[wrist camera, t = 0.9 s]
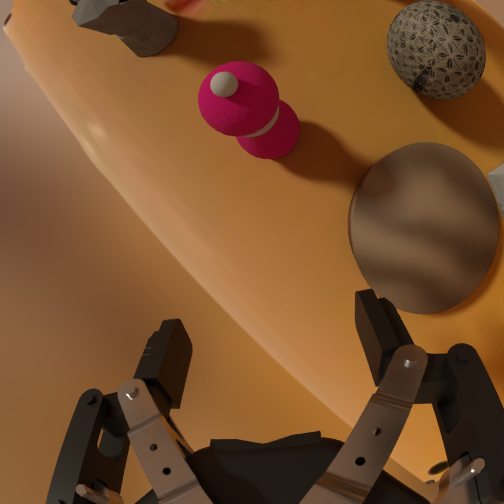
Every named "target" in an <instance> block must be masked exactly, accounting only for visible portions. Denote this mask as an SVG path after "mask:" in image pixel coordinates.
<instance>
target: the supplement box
mask: <svg viewBox="0 0 504 504" xmlns="http://www.w3.org/2000/svg"><path fill="white" fill-rule="evenodd" d="M487 176H488V178H489V181H490V183H491V186H492V189H493V191H494V194H495V196H496V199H497V202H498V205H499V208H500V211H501V213H502V216H503V219H504V163H503V164H502V165H500V166H499V167H497V168H496V169H494V170H493V171H491V172H490V173H488V174H487Z"/></svg>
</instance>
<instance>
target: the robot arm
mask: <svg viewBox="0 0 504 504" xmlns="http://www.w3.org/2000/svg"><path fill="white" fill-rule="evenodd" d="M355 324H356V329H357V332H358V335H359V338H360V340H361V343H362V346H363V349H364V352H365V355H366V358H367V361H368V364H369V367H370V370H371V373H372V377H373V380H374V383H375V386H376V387H377V386H379V387H378V389H377V391H376V393H375V394H373V395H372V396H371V398H370V400H369V402H368V404H367V405H366V407H365V409H364V411H363V413H362V415H361V416H360V418H359V420H358V422H357V423H356V425H355V427H354V428H353V430H352V432H351V434H350V435H349V437H348V438H347V440H346V442H342V441H340V440H336V439H332V438H325V437H321V433H320V431H316V432H310V433H303V434H295V435H291V436H288V437H285V438H281V439H278V440H275V441H272V442H269V443H264V444H261V443H255V442H249V441H244V440H238V439H211V442H210V446H209V447H206V448H202V449H200V450H198V451H196V452H194V451H193V449H192V448H191V447H190V446H189V444H188V443H187V442H186V440H185V438H184V437H183V435H182V433H181V432H180V430H179V429H178V427H177V425H176V424H175V422H174V421H173V419H172V417H171V416H170V414H169V413H170V409H179V408H180V404H181V400H182V395H183V391H184V386H185V382H186V378H187V374H188V369H189V365H190V361H191V356H192V343H191V340H190V338H189V336H188V334H187V332H186V330H185V328H184V326H183V324H182V322H181V320H180V319H168V320H164V321H163V322H162V324H161V326H160V329H159V331H155V332H154V333H153V335H152V336H151V337H150V338H149V339H148V342H147V344H146V347H145V348H146V349H144V352H143V356H142V357H141V359H140V362H139V365H138V367H137V370H136V372H135V375H134V378H133V379H131V380H128V381H126V382H125V383H124V384H123V385H121V387H120V388H119V390H118V392H115V393H111V394H107V395H103V394H102V392H101V391H100V390H98V389H89V390H87V391H86V392H84V393H83V394H82V395H81V397H80V399H79V401H78V404H77V406H76V409H75V412H74V414H73V417H72V419H71V422H70V425H69V428H68V430H67V433H66V436H65V439H64V442H63V445H62V448H61V451H60V454H59V457H58V460H57V464H56V467H55V471H54V474H53V477H52V481H51V484H50V488H49V492H48V496H47V500H46V504H124V501H123V499H122V497H121V496H120V491H121V486H122V480H123V475H124V470H125V465H126V460H127V455H128V451H129V446H130V442H131V444H132V446H133V448H134V451H135V453H136V455H137V458H138V460H139V462H140V464H141V466H142V468H143V470H144V472H145V474H146V476H147V478H148V480H149V482H150V484H151V486H152V488H153V489H152V490H150V491H149V492H148V493H147V494H146V495H145V496H143V497H142V498H141V499H140V500H139V501H137V502H136V503H135V504H431V503H430V502H429V501H428V500H427V499H426V498H424V497H423V496H421V495H420V494H418V493H417V492H415V491H413V490H412V489H410V488H409V487H407V486H406V485H404V484H403V483H401V482H400V481H399V480H397V479H396V478H394V477H393V476H391V475H390V474H388V473H387V472H386V471H384V470H383V467H384V466H385V464H386V462H387V460H388V458H389V456H390V454H391V452H392V450H393V448H394V446H395V444H396V442H397V440H398V438H399V436H400V434H401V431H402V429H403V427H404V425H405V422H406V420H407V418H408V415H409V413H410V411H411V408H412V405H413V404H428V403H432V406H433V409H434V412H435V415H436V419H437V422H438V425H439V429H440V432H441V436H442V440H443V443H444V447H445V451H446V455H447V459H448V464H449V468H448V469H447V470H446V471H445V472H444V473H443V475H442V476H441V478H440V481H439V493H438V496H437V498H436V499H435V501H434V502H433V503H432V504H503V503H504V408H503V406H502V403H501V401H500V399H499V396H498V394H497V392H496V390H495V387H494V385H493V383H492V381H491V379H490V377H489V375H488V373H487V371H486V369H485V367H484V365H483V363H482V361H481V359H480V357H479V355H478V353H477V351H476V350H475V349H474V348H473V347H472V346H470V345H468V344H464V343H460V344H456V345H454V346H452V347H451V348H450V349H449V351H448V353H445V354H430V353H426V352H425V350H424V349H422V348H421V347H419V346H417V345H415V344H414V342H413V340H412V338H411V337H410V335H409V333H408V331H407V329H406V327H405V325H404V323H403V321H402V320H401V317H400V316H399V314H398V313H397V310H396V308H395V306H394V305H393V303H392V302H390V301H389V300H388V299H386V298H385V297H383V298H379V299H378V298H377V296H376V295H375V293H374V291H373V289H372V288H371V289H366V290H361V291H356V292H355ZM101 429H102V430H103V434H102V438H101V441H100V445H99V448H98V447H97V442H98V439H99V435H100V432H101Z"/></svg>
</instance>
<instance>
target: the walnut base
mask: <svg viewBox="0 0 504 504" xmlns="http://www.w3.org/2000/svg"><path fill="white" fill-rule="evenodd" d="M348 234H349V240H350V245H351V249H352V252H353V255H354V257H355V259H356V262H357V264H358V266H359V269H360V271H361V273H362V275H363V277H364V278H365V280H366V282H367V283H368V285H369V286H370V287H371V288H372V289H373V291H374V292H375V293H376V294H377V295H378V296H379V297H380V298H383V297H385V298H386V299H388V300H389V301H390V302H392V303H393V305H394V306H395V308H397V309H400V310H402V311H405V312H410V313H415V314H430V313H436V312H440V311H444V310H446V309H449V308H451V307H453V306H455V305H457V304H458V303H460V302H461V301H463V300H464V299H465V298H467V297H468V296H469V295H470V294H471V293H472V292H473V291H474V290H475V289H476V288H477V287H478V285H479V284H480V283H481V282H482V280H483V279H484V277H485V276H486V274H487V272H488V270H489V268H490V266H491V263H492V261H493V258H494V255H495V251H496V248H497V242H498V235H499V219H498V211H497V205H496V201H495V198H494V195H493V192H492V190H491V187H490V185H489V183H488V181H487V180H486V178H485V176H484V175H483V173H482V172H481V171H480V169H479V168H478V167H477V166H476V165H475V164H474V163H473V162H472V161H471V160H470V159H469V158H468V157H466V156H465V155H464V154H463V153H461V152H459V151H457V150H455V149H454V148H451V147H448V146H446V145H442V144H438V143H427V142H424V143H415V144H411V145H408V146H404V147H402V148H400V149H398V150H396V151H394V152H392V153H390V154H388V155H386V156H384V157H383V158H381V159H380V160H378V161H377V162H376V163H375V164H373V165H372V166H371V167H370V168H369V169H368V171H367V172H366V173H365V174H364V175H363V177H362V179H361V180H360V182H359V183H358V185H357V187H356V189H355V192H354V194H353V197H352V200H351V204H350V209H349V216H348Z"/></svg>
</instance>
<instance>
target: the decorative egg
mask: <svg viewBox="0 0 504 504" xmlns="http://www.w3.org/2000/svg"><path fill="white" fill-rule="evenodd" d="M387 51H388V56H389V59H390V62H391V64H392V67H393V68H394V70H395V72H396V73H397V75H398V76H399V77H400V79H401V80H402V81H403V82H404V83H405V84H406V85H407V86H409V87H410V88H411V89H412V90H414V91H415V92H417V93H419V94H421V95H423V96H426V97H429V98H433V99H439V100H448V99H454V98H458V97H460V96H462V95H464V94H466V93H467V92H469V91H470V90H471V89H472V88H473V87H474V86H475V85H476V84H477V83H478V81H479V80H480V78H481V76H482V74H483V71H484V68H485V62H486V50H485V45H484V41H483V38H482V36H481V34H480V32H479V30H478V28H477V27H476V25H475V24H474V23H473V21H472V20H471V19H470V18H469V17H468V16H467V15H466V14H464V13H463V12H462V11H461V10H459V9H458V8H456V7H454V6H452V5H450V4H447V3H444V2H440V1H433V0H425V1H419V2H415V3H413V4H410V5H409V6H407V7H405V8H404V9H403V10H401V11H400V13H399V14H398V15H397V16H396V17H395V19H394V20H393V22H392V24H391V26H390V28H389V32H388V35H387Z"/></svg>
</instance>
